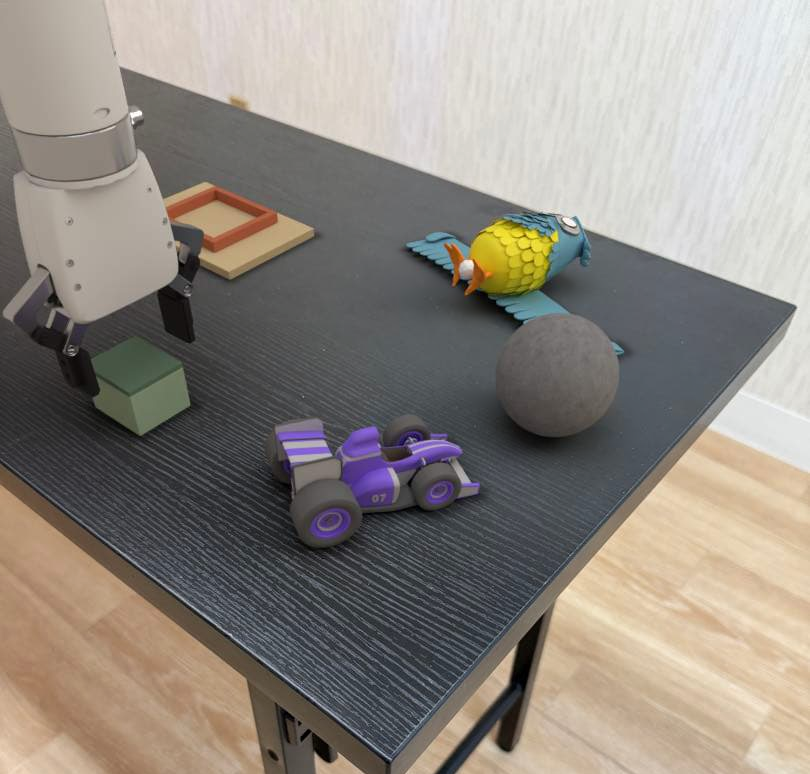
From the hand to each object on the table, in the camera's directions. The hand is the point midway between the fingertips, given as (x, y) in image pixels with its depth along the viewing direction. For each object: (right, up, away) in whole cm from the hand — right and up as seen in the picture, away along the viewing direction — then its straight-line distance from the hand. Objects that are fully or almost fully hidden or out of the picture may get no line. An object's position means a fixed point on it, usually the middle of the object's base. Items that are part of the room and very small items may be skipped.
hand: (135, 362), depth 66 cm
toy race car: (+20, -11, -2) cm, 23 cm away
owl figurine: (+34, +11, +18) cm, 40 cm away
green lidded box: (0, -3, +4) cm, 5 cm away
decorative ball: (+34, -5, +4) cm, 35 cm away
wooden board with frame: (+1, +20, +26) cm, 33 cm away
